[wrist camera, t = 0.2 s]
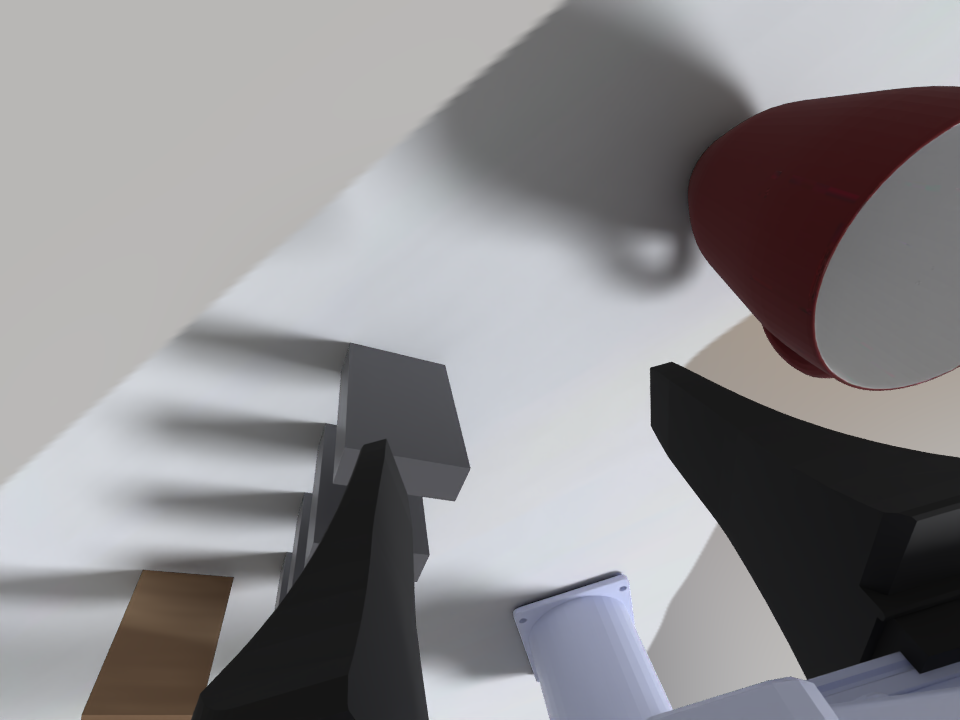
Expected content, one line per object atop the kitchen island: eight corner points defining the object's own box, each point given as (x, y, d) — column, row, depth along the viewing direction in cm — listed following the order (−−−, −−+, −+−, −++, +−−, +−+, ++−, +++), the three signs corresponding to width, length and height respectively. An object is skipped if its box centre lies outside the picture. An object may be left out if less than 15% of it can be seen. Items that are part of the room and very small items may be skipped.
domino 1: (229, 595, 29) (194, 734, 24) (140, 589, 28) (80, 735, 22) (233, 577, 29) (199, 715, 23) (142, 569, 27) (81, 715, 21)
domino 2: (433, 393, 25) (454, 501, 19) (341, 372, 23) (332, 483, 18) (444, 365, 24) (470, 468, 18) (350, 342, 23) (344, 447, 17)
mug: (827, 267, 25) (1056, 379, 17) (673, 339, 26) (821, 483, 18) (816, 32, 20) (1151, 24, 11) (619, 130, 20) (799, 194, 12)
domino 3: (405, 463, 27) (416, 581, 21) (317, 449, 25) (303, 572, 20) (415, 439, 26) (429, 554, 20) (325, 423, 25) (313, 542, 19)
